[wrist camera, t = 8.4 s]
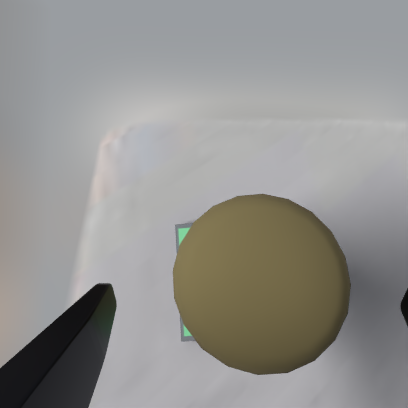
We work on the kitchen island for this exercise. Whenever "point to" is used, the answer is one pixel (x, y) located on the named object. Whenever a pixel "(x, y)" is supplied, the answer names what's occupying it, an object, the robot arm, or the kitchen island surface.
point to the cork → (261, 284)
